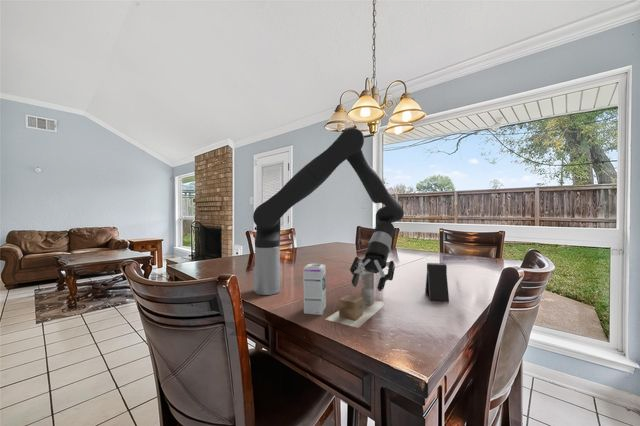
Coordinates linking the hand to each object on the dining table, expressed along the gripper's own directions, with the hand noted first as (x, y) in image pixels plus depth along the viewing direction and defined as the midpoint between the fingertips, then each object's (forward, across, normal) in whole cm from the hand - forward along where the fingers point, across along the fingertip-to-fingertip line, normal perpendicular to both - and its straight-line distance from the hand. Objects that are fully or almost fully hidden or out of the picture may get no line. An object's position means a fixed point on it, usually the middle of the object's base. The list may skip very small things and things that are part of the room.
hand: (366, 287), depth 86 cm
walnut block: (+12, 0, -4) cm, 12 cm away
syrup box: (+14, -11, -4) cm, 18 cm away
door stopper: (-12, +17, +21) cm, 29 cm away
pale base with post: (+9, 0, 0) cm, 9 cm away
